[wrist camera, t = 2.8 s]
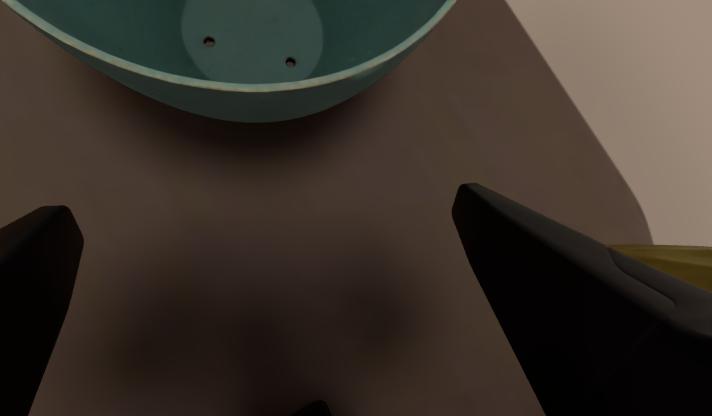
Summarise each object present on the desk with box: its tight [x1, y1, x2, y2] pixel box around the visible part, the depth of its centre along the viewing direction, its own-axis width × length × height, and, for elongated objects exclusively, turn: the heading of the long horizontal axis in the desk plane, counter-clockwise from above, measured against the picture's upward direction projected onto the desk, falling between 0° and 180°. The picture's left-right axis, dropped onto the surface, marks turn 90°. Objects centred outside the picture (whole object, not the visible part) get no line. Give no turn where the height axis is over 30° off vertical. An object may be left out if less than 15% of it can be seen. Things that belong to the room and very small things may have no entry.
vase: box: [604, 244, 712, 293], centre depth 19 cm, size 6×6×14 cm
